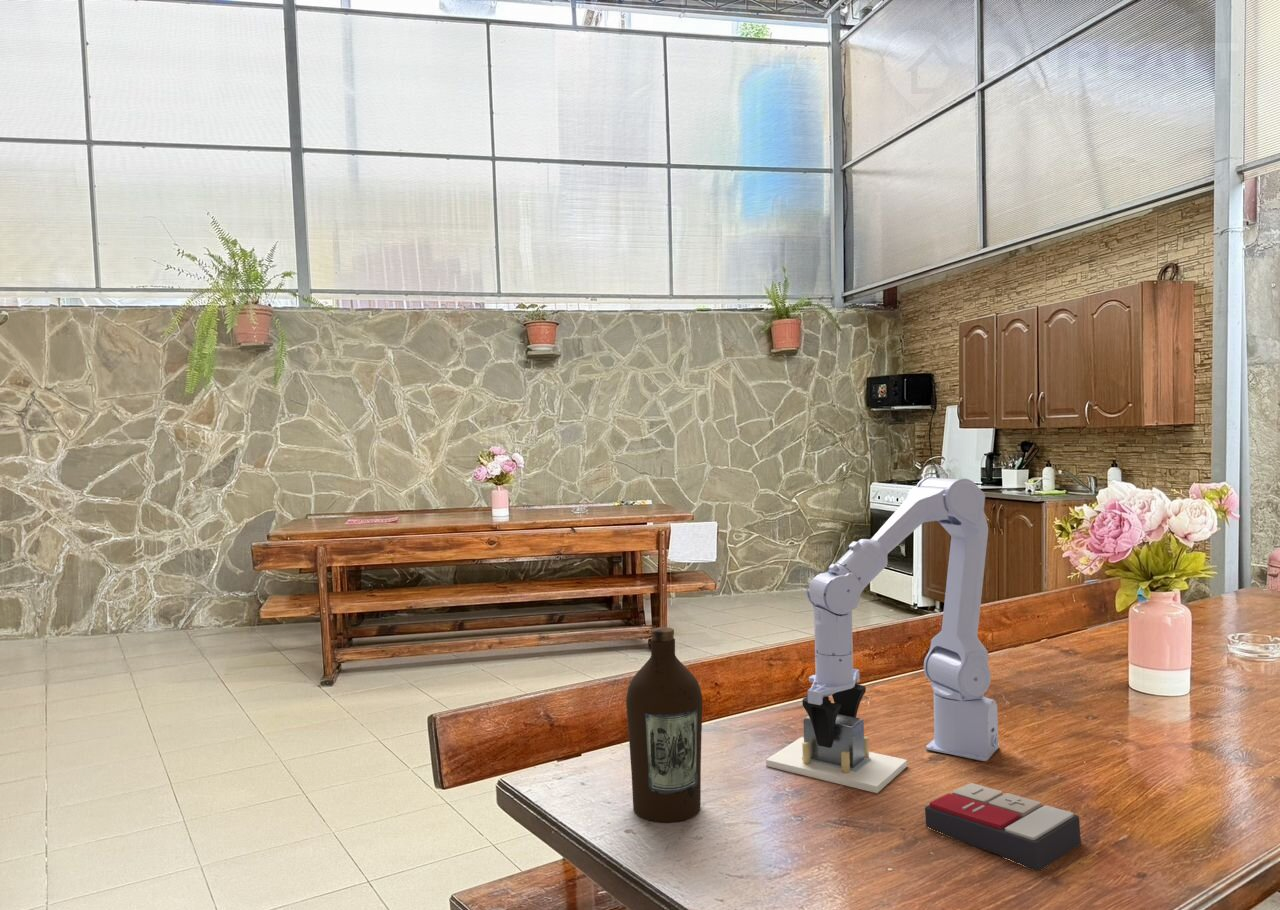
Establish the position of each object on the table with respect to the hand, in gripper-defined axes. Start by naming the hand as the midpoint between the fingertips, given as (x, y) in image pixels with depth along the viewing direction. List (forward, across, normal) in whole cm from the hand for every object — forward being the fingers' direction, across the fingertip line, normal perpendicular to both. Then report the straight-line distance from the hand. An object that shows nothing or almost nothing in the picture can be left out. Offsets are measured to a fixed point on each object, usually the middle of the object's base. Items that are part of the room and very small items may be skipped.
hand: (835, 738), depth 130 cm
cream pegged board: (+4, 0, 0) cm, 4 cm away
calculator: (+5, +9, +27) cm, 29 cm away
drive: (+3, 0, 0) cm, 3 cm away
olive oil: (+4, +27, -13) cm, 30 cm away
